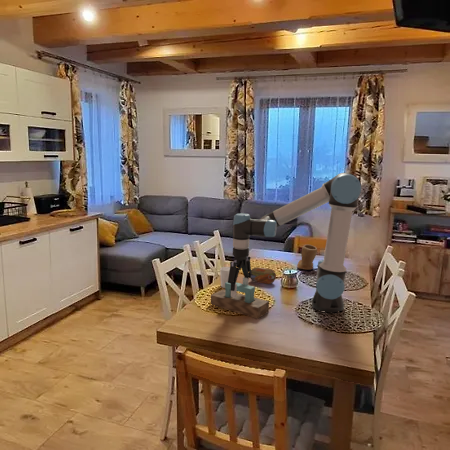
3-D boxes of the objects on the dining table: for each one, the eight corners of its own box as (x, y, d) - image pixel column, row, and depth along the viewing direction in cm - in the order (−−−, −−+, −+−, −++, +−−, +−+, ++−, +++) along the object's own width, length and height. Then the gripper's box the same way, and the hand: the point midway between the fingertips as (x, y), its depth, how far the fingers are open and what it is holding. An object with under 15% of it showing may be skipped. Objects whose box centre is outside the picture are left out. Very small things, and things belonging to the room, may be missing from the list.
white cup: (232, 289, 216) (233, 271, 215) (218, 288, 218) (218, 270, 216) (235, 284, 224) (235, 267, 222) (221, 283, 226) (221, 266, 224)
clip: (254, 308, 188) (254, 286, 187) (249, 311, 185) (250, 289, 183) (229, 301, 196) (229, 280, 194) (224, 304, 193) (225, 282, 191)
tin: (249, 281, 230) (249, 267, 229) (250, 279, 233) (251, 265, 232) (274, 285, 225) (275, 270, 223) (276, 283, 228) (276, 269, 226)
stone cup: (314, 272, 250) (316, 248, 248) (295, 270, 254) (296, 246, 251) (317, 265, 265) (318, 243, 262) (298, 263, 268) (300, 241, 265)
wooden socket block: (268, 311, 188) (269, 301, 187) (257, 318, 180) (258, 307, 179) (222, 298, 202) (222, 289, 201) (210, 304, 194) (210, 295, 193)
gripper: (246, 242, 197) (245, 286, 201) (220, 250, 179) (219, 298, 183) (260, 244, 192) (258, 289, 197) (234, 253, 174) (233, 302, 179)
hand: (239, 293), depth 190 cm, fingers open, 9 cm apart
